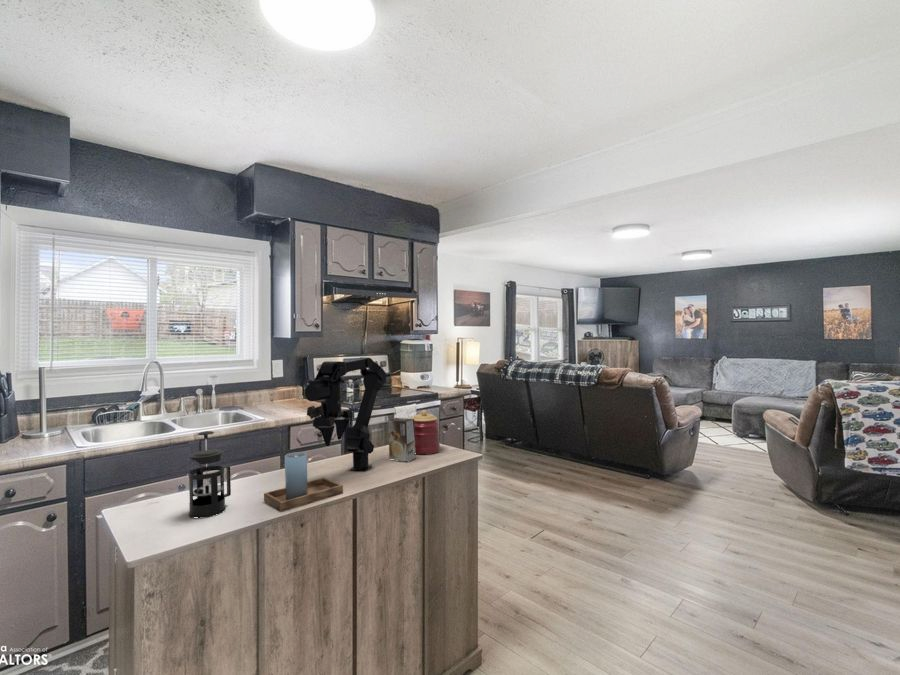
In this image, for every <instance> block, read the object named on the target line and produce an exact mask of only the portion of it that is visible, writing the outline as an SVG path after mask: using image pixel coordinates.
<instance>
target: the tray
mask: <svg viewBox="0 0 900 675" xmlns="http://www.w3.org/2000/svg"><path fill="white" fill-rule="evenodd" d="M307 485H308V494H307V495H304V496H301V497H297V498H294V499H290V500H286V490H285V487H283V488H278V489H275V490H271V491H267V492H264V493H263V501H265V502H264V503H266V504H267V503H268V505H269V506H271V507H273V508H275V509H276V510H277V511H279V512H282V513H283V512H286V511H289V510H292V509H296V508H298V507H301V506H305V505H309V504H312V503H315V502H319V501H322V500H325V499H329V498H332V497H335V496H338V495H341V494H343V493H344V486H343V484H340V483H338V482H335V481H333V480H330V479H328V478H326V477H321V478H316V479H313V480H309V481H308V480H307Z"/></svg>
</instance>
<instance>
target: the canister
mask: <svg viewBox="0 0 900 675" xmlns="http://www.w3.org/2000/svg"><path fill="white" fill-rule="evenodd" d="M410 419H414V425H415V453H416V454H415V455H417V454H429V455H432V454H431V453H434V454H437V453H439V452H440V450H441V449H440V448H441V444H440V430H439V425H440V422H439V421H437V419H438V417H437V416H436V415H434V414H431V413H428V412H427V410H425V409H423V410H421V412H420V414H415V415H414V416H412V417H411V418H410ZM438 451H439V452H438ZM436 452H437V453H436Z"/></svg>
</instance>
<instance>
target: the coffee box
mask: <svg viewBox="0 0 900 675" xmlns="http://www.w3.org/2000/svg"><path fill="white" fill-rule="evenodd" d="M387 422H388V425H387V427H388V454H389V456H388V457H389V460H390V459H394V460H400V461H399V462H402V461H409V462H411V461H413V460H412V459H414V458H416V454H415V425H414V419H411V418H408V417H407V418H406V417H395V418H391V419H389V420H388V421H387ZM394 460H393V461H394ZM410 460H411V461H410ZM414 460H415V459H414Z"/></svg>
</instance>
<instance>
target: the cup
mask: <svg viewBox="0 0 900 675" xmlns="http://www.w3.org/2000/svg"><path fill="white" fill-rule="evenodd" d="M284 479H285V480H284V482H285V483H284V485H285V487H284V488H285V490H286V500H290V499H294V498H297V497H301V496H304V495H307V494H308V485H307V482H308V453H307V452H305V451H296V452H295V451H294V452H290V453H286V454H285V455H284Z"/></svg>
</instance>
